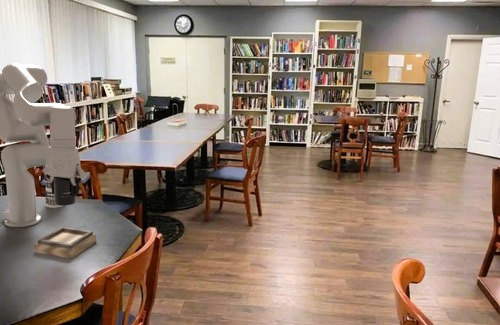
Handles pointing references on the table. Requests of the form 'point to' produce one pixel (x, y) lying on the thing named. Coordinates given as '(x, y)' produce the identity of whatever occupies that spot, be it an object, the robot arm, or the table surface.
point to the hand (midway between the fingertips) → (65, 193)
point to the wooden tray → (65, 242)
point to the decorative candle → (49, 194)
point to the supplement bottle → (63, 192)
